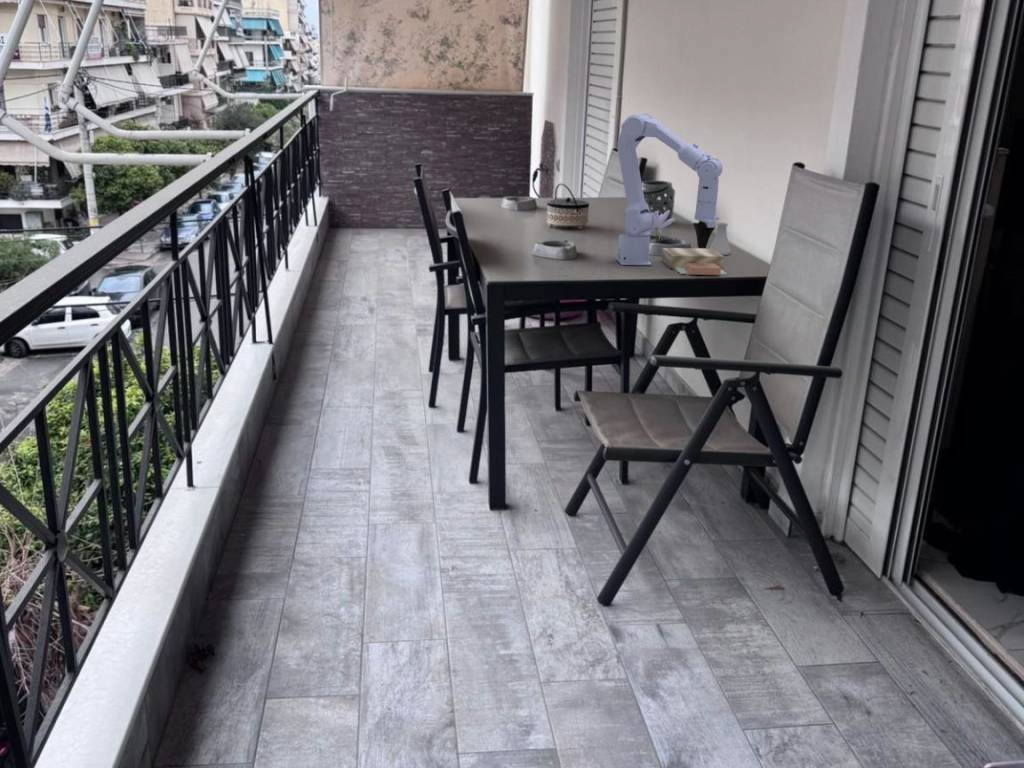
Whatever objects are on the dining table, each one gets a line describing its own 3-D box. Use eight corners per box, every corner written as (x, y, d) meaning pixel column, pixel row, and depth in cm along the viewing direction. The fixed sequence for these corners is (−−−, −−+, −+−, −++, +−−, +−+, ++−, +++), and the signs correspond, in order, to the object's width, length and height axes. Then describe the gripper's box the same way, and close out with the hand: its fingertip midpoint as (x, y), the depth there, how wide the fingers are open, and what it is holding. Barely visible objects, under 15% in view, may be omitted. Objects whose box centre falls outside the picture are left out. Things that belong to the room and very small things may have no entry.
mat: (680, 274, 270) (680, 273, 270) (674, 269, 277) (674, 267, 277) (726, 275, 271) (727, 273, 271) (719, 269, 278) (719, 268, 278)
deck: (670, 269, 277) (672, 255, 275) (661, 260, 288) (662, 247, 287) (722, 269, 278) (724, 256, 277) (711, 261, 289) (713, 248, 288)
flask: (720, 257, 296) (723, 226, 293) (703, 253, 302) (706, 222, 298) (735, 254, 300) (738, 224, 297) (718, 250, 306) (721, 220, 303)
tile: (685, 263, 273) (684, 269, 274) (690, 267, 268) (690, 274, 268) (715, 263, 274) (714, 270, 275) (721, 268, 268) (720, 274, 269)
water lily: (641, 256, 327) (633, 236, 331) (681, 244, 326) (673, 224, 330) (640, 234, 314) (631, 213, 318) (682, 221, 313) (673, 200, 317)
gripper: (727, 205, 261) (722, 252, 266) (713, 198, 275) (708, 243, 279) (703, 205, 261) (698, 252, 265) (689, 197, 274) (685, 242, 279)
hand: (701, 247), depth 272 cm, fingers closed
